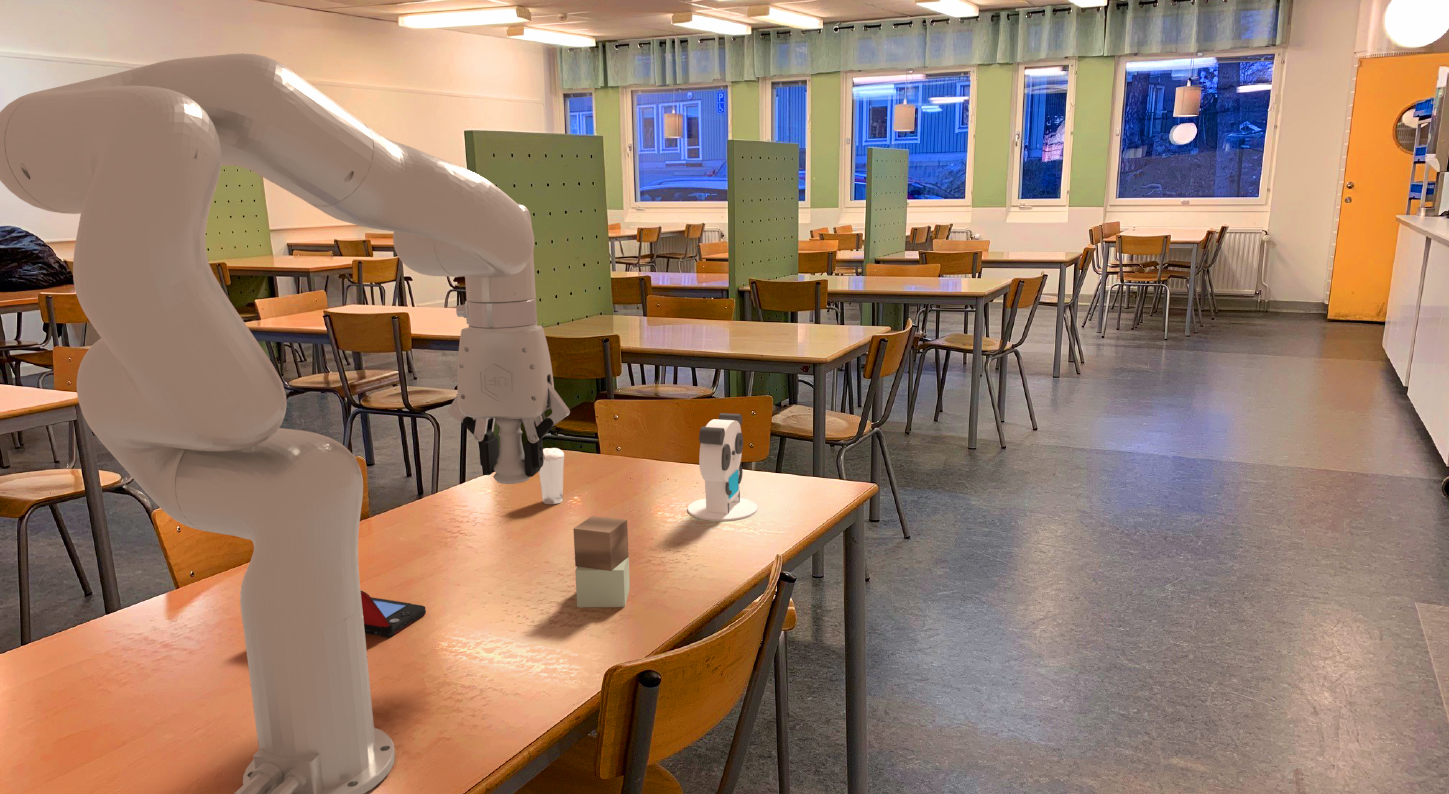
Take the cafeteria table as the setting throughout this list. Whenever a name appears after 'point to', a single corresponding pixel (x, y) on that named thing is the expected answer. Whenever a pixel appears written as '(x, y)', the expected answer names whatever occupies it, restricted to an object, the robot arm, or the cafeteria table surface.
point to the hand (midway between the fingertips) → (512, 471)
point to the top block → (601, 543)
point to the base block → (603, 586)
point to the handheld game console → (388, 615)
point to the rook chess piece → (510, 453)
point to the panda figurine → (722, 471)
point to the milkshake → (552, 476)
